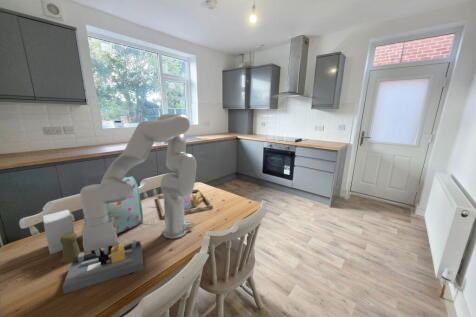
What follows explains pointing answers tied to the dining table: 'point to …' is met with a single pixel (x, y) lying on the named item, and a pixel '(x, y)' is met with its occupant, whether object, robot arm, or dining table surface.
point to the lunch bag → (128, 209)
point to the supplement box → (57, 229)
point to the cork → (69, 247)
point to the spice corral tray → (188, 209)
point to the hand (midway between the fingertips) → (104, 262)
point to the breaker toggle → (117, 253)
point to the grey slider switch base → (102, 268)
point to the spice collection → (193, 200)
